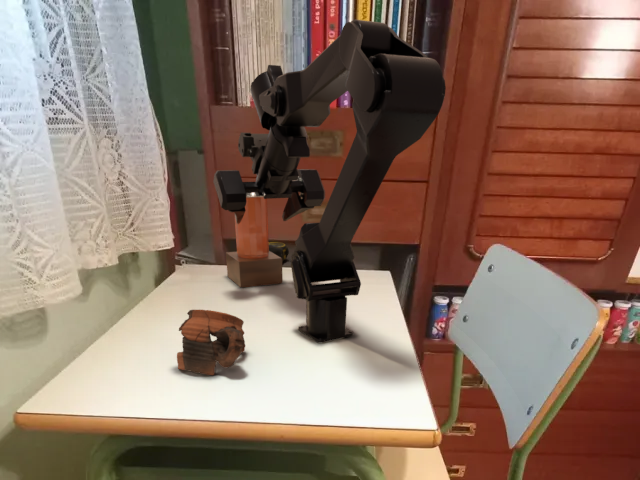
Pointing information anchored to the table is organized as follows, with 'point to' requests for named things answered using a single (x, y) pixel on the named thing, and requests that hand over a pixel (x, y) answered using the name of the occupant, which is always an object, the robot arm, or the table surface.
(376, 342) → the table surface
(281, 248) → the tape measure
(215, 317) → the pottery mug
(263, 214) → the tumbler
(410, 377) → the table surface
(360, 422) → the table surface
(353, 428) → the table surface
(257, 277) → the block
